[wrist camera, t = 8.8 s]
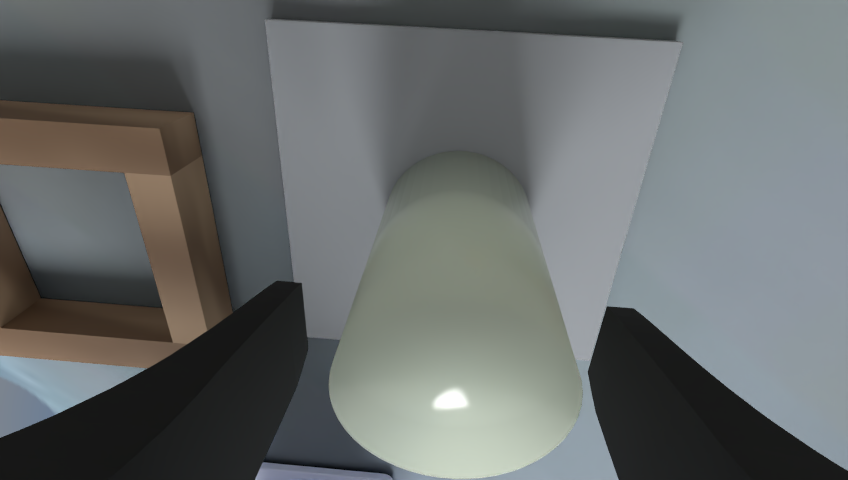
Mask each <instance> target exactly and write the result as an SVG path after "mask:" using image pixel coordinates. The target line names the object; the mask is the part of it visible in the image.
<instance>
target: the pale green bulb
mask: <svg viewBox="0 0 848 480" xmlns="http://www.w3.org/2000/svg"><path fill="white" fill-rule="evenodd" d="M329 395H330V400H331V403H332V407H333V409H334V411H335V414H336V416H337V418H338V420H339V421H340V423H341V424H342V426H343V427H344V429H345V430H346V431H347V432H348V433H349V434H350V436H351V437H352V438H353V439H354V440H355V441H356V442H358V443H359V444H360V445H361V446H362V447H363V448H365V449H366V450H368V451H369V452H370V453H372V454H373V455H375V456H377V457H378V458H380V459H382V460H384V461H386V462H388V463H390V464H392V465H394V466H397V467H399V468H402V469H405V470H408V471H411V472H415V473H419V474H423V475H427V476H433V477H439V478H451V479H472V478H484V477H490V476H496V475H500V474H504V473H508V472H512V471H514V470H517V469H520V468H523V467H525V466H527V465H529V464H531V463H534V462H536V461H537V460H539V459H541V458H542V457H544V456H545V455H547V454H548V453H550V452H551V451H552V450H553V449H555V448H556V447H557V446H558V445H559V444H560V443H561V442H562V441H563V440H564V439H565V438H566V437H567V435H568V434H569V432H570V431H571V429H572V428H573V426H574V424H575V422H576V420H577V418H578V416H579V413H580V409H581V405H582V395H583V390H582V381H581V377H580V374H579V371H578V367H577V364H576V360H575V357H574V354H573V350H572V347H571V344H570V340H569V337H568V334H567V330H566V327H565V324H564V320H563V317H562V314H561V310H560V307H559V303H558V300H557V297H556V293H555V290H554V287H553V283H552V280H551V277H550V273H549V270H548V267H547V263H546V260H545V256H544V253H543V250H542V246H541V243H540V240H539V236H538V233H537V230H536V226H535V223H534V220H533V216H532V213H531V210H530V206H529V203H528V199H527V196H526V193H525V191H524V189H523V187H522V185H521V184H520V182H519V181H518V179H517V178H516V177H515V176H514V175H513V173H512V172H511V171H510V170H508V169H507V168H506V167H505V166H504V165H502V164H500V163H499V162H497V161H496V160H494V159H492V158H489V157H487V156H484V155H481V154H478V153H473V152H468V151H449V152H443V153H438V154H435V155H432V156H429V157H426V158H424V159H422V160H420V161H418V162H417V163H416V164H414V165H413V166H411V167H410V168H409V169H408V170H407V171H405V172H404V173H403V175H402V176H401V177H400V178H399V179H398V181H397V182H396V184H395V185H394V187H393V189H392V191H391V194H390V196H389V199H388V202H387V205H386V208H385V211H384V213H383V216H382V219H381V222H380V225H379V228H378V231H377V234H376V237H375V240H374V243H373V246H372V248H371V251H370V254H369V257H368V260H367V263H366V266H365V269H364V272H363V275H362V278H361V281H360V283H359V286H358V289H357V292H356V295H355V298H354V301H353V304H352V307H351V310H350V313H349V316H348V319H347V321H346V324H345V327H344V330H343V333H342V336H341V339H340V342H339V345H338V348H337V351H336V354H335V356H334V359H333V362H332V366H331V370H330V373H329Z"/></svg>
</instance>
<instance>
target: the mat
mask: <svg viewBox="0 0 848 480" xmlns="http://www.w3.org/2000/svg"><path fill="white" fill-rule="evenodd" d="M265 27H266V36H267V45H268V54H269V63H270V72H271V81H272V90H273V99H274V108H275V117H276V126H277V135H278V144H279V153H280V162H281V171H282V180H283V189H284V198H285V207H286V215H287V224H288V233H289V242H290V251H291V260H292V269H293V278H294V282H297V283H302V290H303V300H304V310H305V320H306V330H307V337H311V338H323V339H335V340H340V339H341V336H342V333H343V330H344V327H345V324H346V321H347V319H348V316H349V313H350V310H351V307H352V304H353V301H354V298H355V295H356V292H357V289H358V286H359V283H360V281H361V278H362V275H363V272H364V269H365V266H366V263H367V260H368V257H369V254H370V251H371V248H372V246H373V243H374V240H375V237H376V234H377V231H378V228H379V225H380V222H381V219H382V216H383V213H384V211H385V208H386V205H387V202H388V199H389V196H390V194H391V191H392V189H393V187H394V185H395V184H396V182H397V181H398V179H399V178H400V177H401V176H402V175H403V173H404V172H405V171H407V170H408V169H409V168H410V167H411V166H413V165H414V164H416V163H417V162H418V161H420V160H422V159H424V158H426V157H429V156H432V155H435V154H438V153H443V152H449V151H468V152H473V153H478V154H481V155H484V156H487V157H489V158H492V159H494V160H496V161H497V162H499V163H500V164H502V165H504V166H505V167H506V168H507V169H508V170H510V171H511V172H512V173H513V175H514V176H515V177H516V178H517V179H518V181H519V182H520V184H521V185H522V187H523V189H524V191H525V193H526V196H527V199H528V203H529V206H530V210H531V213H532V216H533V220H534V223H535V226H536V230H537V233H538V236H539V240H540V243H541V246H542V250H543V253H544V256H545V260H546V263H547V267H548V270H549V273H550V277H551V280H552V283H553V287H554V290H555V293H556V297H557V300H558V303H559V307H560V310H561V314H562V317H563V320H564V324H565V327H566V330H567V334H568V337H569V340H570V344H571V347H572V350H573V354H574V357H575V360H586V361H590V359H591V355H592V352H593V348H594V345H595V342H596V338H597V335H598V331H599V328H600V325H601V321H602V318H603V314H604V311H605V308H606V304H607V301H608V297H609V294H610V290H611V287H612V284H613V280H614V277H615V273H616V270H617V267H618V263H619V260H620V256H621V253H622V250H623V246H624V243H625V239H626V236H627V232H628V229H629V226H630V222H631V219H632V215H633V212H634V209H635V205H636V202H637V198H638V195H639V192H640V188H641V185H642V181H643V178H644V175H645V171H646V168H647V164H648V161H649V157H650V154H651V151H652V147H653V144H654V140H655V137H656V134H657V130H658V127H659V123H660V120H661V117H662V113H663V110H664V106H665V103H666V99H667V96H668V93H669V89H670V86H671V82H672V79H673V76H674V72H675V69H676V65H677V62H678V59H679V55H680V52H681V48H682V45H683V42H679V41H671V40H652V39H634V38H616V37H598V36H579V35H561V34H543V33H524V32H506V31H488V30H470V29H451V28H433V27H415V26H396V25H378V24H360V23H341V22H323V21H305V20H287V19H266V20H265Z"/></svg>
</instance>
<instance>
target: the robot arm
mask: <svg viewBox="0 0 848 480" xmlns="http://www.w3.org/2000/svg"><path fill="white" fill-rule="evenodd" d="M307 351H308V340H307V330H306V320H305V310H304V300H303V290H302V283H297V282H285V281H276V282H275V283H273V284H272V285H270V286H269V287H267V288H266V289H264V290H263V291H262V292H260V293H259V294H258V295H256V296H255V297H254V298H252V299H251V300H250V301H248V302H247V303H246V304H244V305H243V306H241V307H240V308H239V309H237V310H236V311H235V312H233V313H232V314H230V315H229V316H228V317H226V318H225V319H223V320H222V321H221V322H219V323H218V324H216V325H215V326H214V327H212V328H211V329H209V330H208V331H206V332H205V333H203V334H202V335H200V336H199V337H197V338H196V339H194V340H193V341H191V342H190V343H188V344H186V345H185V346H183V347H182V348H180V349H179V350H177V351H176V352H174V353H173V354H171V355H170V356H168V357H166V358H165V359H163V360H161V361H160V362H158V363H156V364H154V365H153V366H151V367H149V368H148V369H146V370H144V371H142V372H140V373H139V374H137V375H135V376H133V377H131V378H129V379H128V380H126V381H124V382H122V383H120V384H118V385H116V386H115V387H113V388H111V389H109V390H107V391H104V392H102V393H100V394H98V395H96V396H94V397H92V398H90V399H88V400H86V401H84V402H81V403H79V404H77V405H75V406H73V407H71V408H69V409H67V410H65V411H63V412H61V413H58V414H56V415H54V416H52V417H50V418H47V419H45V420H43V421H40V422H38V423H36V424H33V425H31V426H29V427H26V428H24V429H21V430H19V431H16V432H14V433H11V434H9V435H6V436H4V437H1V438H0V480H393V479H392V478H391V477H390V476H389V475H387V474H382V473H372V472H361V471H351V470H340V469H330V468H319V467H309V466H298V465H288V464H277V463H267V462H263V461H264V458H265V456H266V454H267V452H268V450H269V447H270V445H271V443H272V441H273V439H274V436H275V434H276V432H277V430H278V428H279V425H280V423H281V421H282V419H283V417H284V414H285V412H286V410H287V408H288V405H289V403H290V401H291V399H292V396H293V394H294V392H295V389H296V387H297V384H298V381H299V378H300V375H301V372H302V369H303V365H304V362H305V358H306V355H307ZM588 375H589V381H590V386H591V391H592V396H593V401H594V406H595V410H596V414H597V417H598V420H599V423H600V426H601V429H602V432H603V435H604V438H605V441H606V444H607V447H608V450H609V453H610V456H611V459H612V461H613V464H614V467H615V470H616V473H617V476H618V479H619V480H848V471H847V470H845V469H844V468H842V467H840V466H839V465H837V464H835V463H834V462H832V461H831V460H829V459H827V458H826V457H824V456H823V455H821V454H820V453H818V452H817V451H815V450H813V449H812V448H810V447H809V446H807V445H806V444H805V443H803V442H802V441H800V440H799V439H797V438H796V437H794V436H793V435H791V434H790V433H788V432H787V431H785V430H784V429H783V428H781V427H780V426H778V425H777V424H775V423H774V422H772V421H771V420H770V419H768V418H767V417H765V416H764V415H763V414H761V413H760V412H759V411H757V410H756V409H755V408H753V407H752V406H751V405H749V404H748V403H747V402H745V401H744V400H743V399H742V398H740V397H739V396H738V395H736V394H735V393H734V392H733V391H731V390H730V389H729V388H727V387H726V386H725V385H724V384H722V383H721V382H720V381H719V380H717V379H716V378H715V377H714V376H712V375H711V374H710V373H709V372H708V371H706V370H705V369H704V368H703V367H702V366H700V365H699V364H698V363H697V362H696V361H695V360H693V359H692V358H691V357H690V356H689V355H688V354H686V353H685V352H684V351H683V350H682V349H681V348H679V347H678V346H677V345H676V344H675V343H674V342H673V341H671V340H670V339H669V338H668V337H667V336H666V335H665V334H663V333H662V332H661V331H660V330H659V329H658V328H657V327H655V326H654V325H653V324H652V323H651V322H650V321H648V320H647V319H646V318H645V317H644V316H642V315H641V314H640V313H639V312H637V311H636V310H635V309H633V308H620V307H607V308H606V311H605V315H604V318H603V322H602V325H601V329H600V332H599V335H598V339H597V342H596V346H595V349H594V353H593V356H592V359H591V363H590V366H589V370H588Z"/></svg>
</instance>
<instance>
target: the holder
mask: <svg viewBox="0 0 848 480" xmlns="http://www.w3.org/2000/svg"><path fill="white" fill-rule="evenodd" d="M0 164H6V165H20V166H34V167H49V168H63V169H77V170H92V171H106V172H121V173H124V174H125V177H126V181H127V184H128V187H129V191H130V194H131V198H132V201H133V205H134V208H135V212H136V215H137V219H138V222H139V226H140V229H141V233H142V236H143V240H144V243H145V247H146V250H147V254H148V257H149V261H150V264H151V268H152V271H153V275H154V278H155V282H156V285H157V289H158V292H159V296H160V299H161V303H162V306H163V308H155V307H142V306H130V305H118V304H106V303H94V302H81V301H69V300H57V299H45V298H41V297H40V295H39V293H38V290H37V288H36V286H35V284H34V281H33V279H32V277H31V274H30V272H29V270H28V268H27V265H26V263H25V261H24V259H23V256H22V254H21V252H20V250H19V247H18V245H17V243H16V240H15V238H14V236H13V234H12V231H11V229H10V227H9V225H8V222H7V220H6V218H5V216H4V213H3V211H2V209H1V206H0V355H2V356H14V357H25V358H37V359H48V360H59V361H71V362H82V363H94V364H105V365H117V366H128V367H139V368H149V367H151V366H153V365H154V364H156V363H158V362H160V361H161V360H163V359H165V358H166V357H168V356H170V355H171V354H173V353H174V352H176V351H177V350H179V349H180V348H182V347H183V346H185V345H186V344H188V343H190V342H191V341H193V340H194V339H196V338H197V337H199V336H200V335H202V334H203V333H205V332H206V331H208V330H209V329H211V328H212V327H214V326H215V325H216V324H218V323H219V322H221V321H222V320H223V319H225V318H226V317H228V316H229V315H230V314H232V313H233V311H232V306H231V301H230V295H229V290H228V285H227V280H226V275H225V270H224V265H223V260H222V255H221V250H220V245H219V239H218V234H217V229H216V224H215V219H214V214H213V209H212V204H211V199H210V194H209V189H208V183H207V178H206V173H205V168H204V163H203V158H202V153H201V148H200V143H199V138H198V133H197V127H196V122H195V117H194V113H192V112H176V111H160V110H144V109H129V108H113V107H97V106H82V105H66V104H50V103H35V102H19V101H3V100H0Z"/></svg>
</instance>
